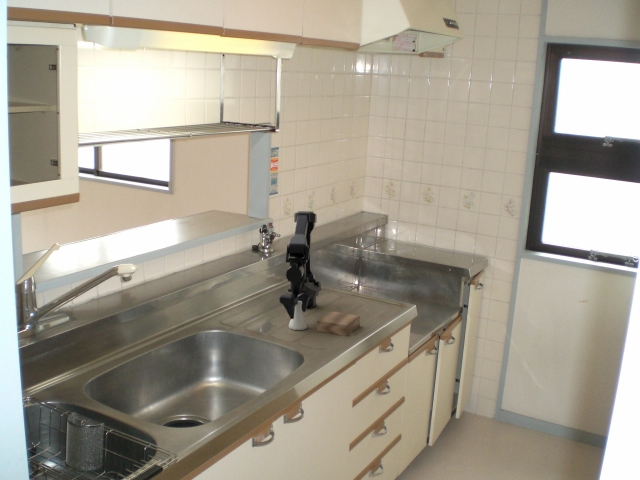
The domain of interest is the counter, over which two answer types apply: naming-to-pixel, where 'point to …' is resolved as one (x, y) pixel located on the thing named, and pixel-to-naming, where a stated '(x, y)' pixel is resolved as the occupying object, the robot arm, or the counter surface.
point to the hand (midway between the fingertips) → (298, 315)
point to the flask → (298, 319)
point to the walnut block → (338, 323)
